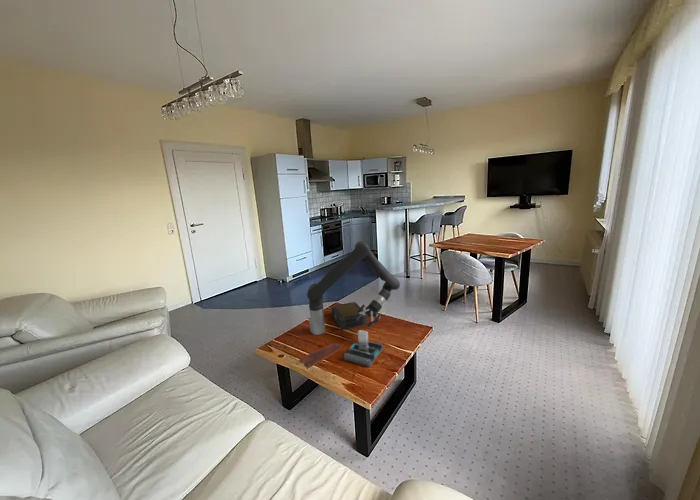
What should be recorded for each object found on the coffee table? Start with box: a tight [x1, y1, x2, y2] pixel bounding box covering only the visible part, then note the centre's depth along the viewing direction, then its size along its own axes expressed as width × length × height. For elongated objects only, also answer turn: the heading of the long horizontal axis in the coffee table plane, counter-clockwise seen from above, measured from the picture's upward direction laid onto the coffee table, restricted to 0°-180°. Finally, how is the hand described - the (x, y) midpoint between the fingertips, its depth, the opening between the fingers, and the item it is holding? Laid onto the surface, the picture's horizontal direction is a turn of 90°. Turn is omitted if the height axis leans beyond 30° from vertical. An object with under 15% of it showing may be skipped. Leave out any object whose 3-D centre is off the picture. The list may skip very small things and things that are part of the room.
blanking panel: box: [357, 329, 369, 352], centre depth 164 cm, size 5×2×13 cm, turn 61°
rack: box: [343, 339, 384, 368], centre depth 165 cm, size 16×18×4 cm
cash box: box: [331, 301, 368, 330], centre depth 208 cm, size 25×20×8 cm
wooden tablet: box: [299, 343, 343, 368], centre depth 168 cm, size 27×10×2 cm, turn 133°
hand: (361, 323), depth 175 cm, fingers open, 8 cm apart
